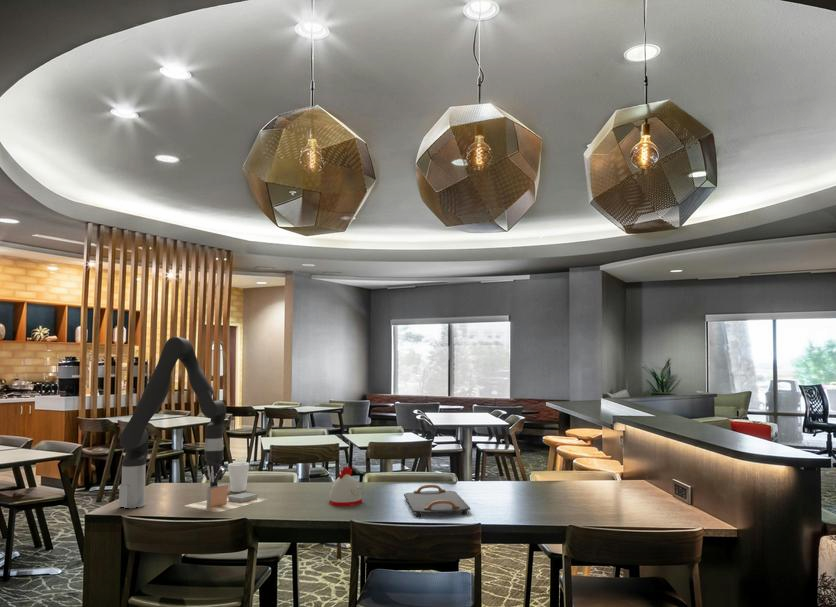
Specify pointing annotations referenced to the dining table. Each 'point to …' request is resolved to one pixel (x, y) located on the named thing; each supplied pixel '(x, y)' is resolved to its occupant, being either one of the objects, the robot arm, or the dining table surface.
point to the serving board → (435, 501)
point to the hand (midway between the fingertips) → (213, 490)
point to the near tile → (217, 495)
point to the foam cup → (238, 476)
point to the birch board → (223, 507)
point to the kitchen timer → (345, 490)
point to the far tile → (242, 497)
